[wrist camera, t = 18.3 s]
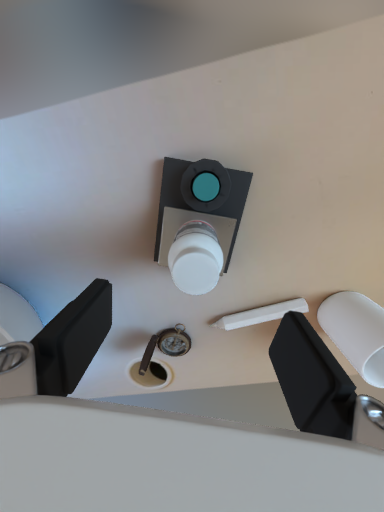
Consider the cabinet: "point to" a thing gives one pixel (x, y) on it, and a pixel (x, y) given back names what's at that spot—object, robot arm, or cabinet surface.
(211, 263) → the pill bottle
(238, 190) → the scale
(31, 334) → the bowl
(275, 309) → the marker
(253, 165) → the cabinet surface
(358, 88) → the cabinet surface
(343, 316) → the cup
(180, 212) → the pan
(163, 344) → the compass
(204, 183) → the button
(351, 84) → the cabinet surface
